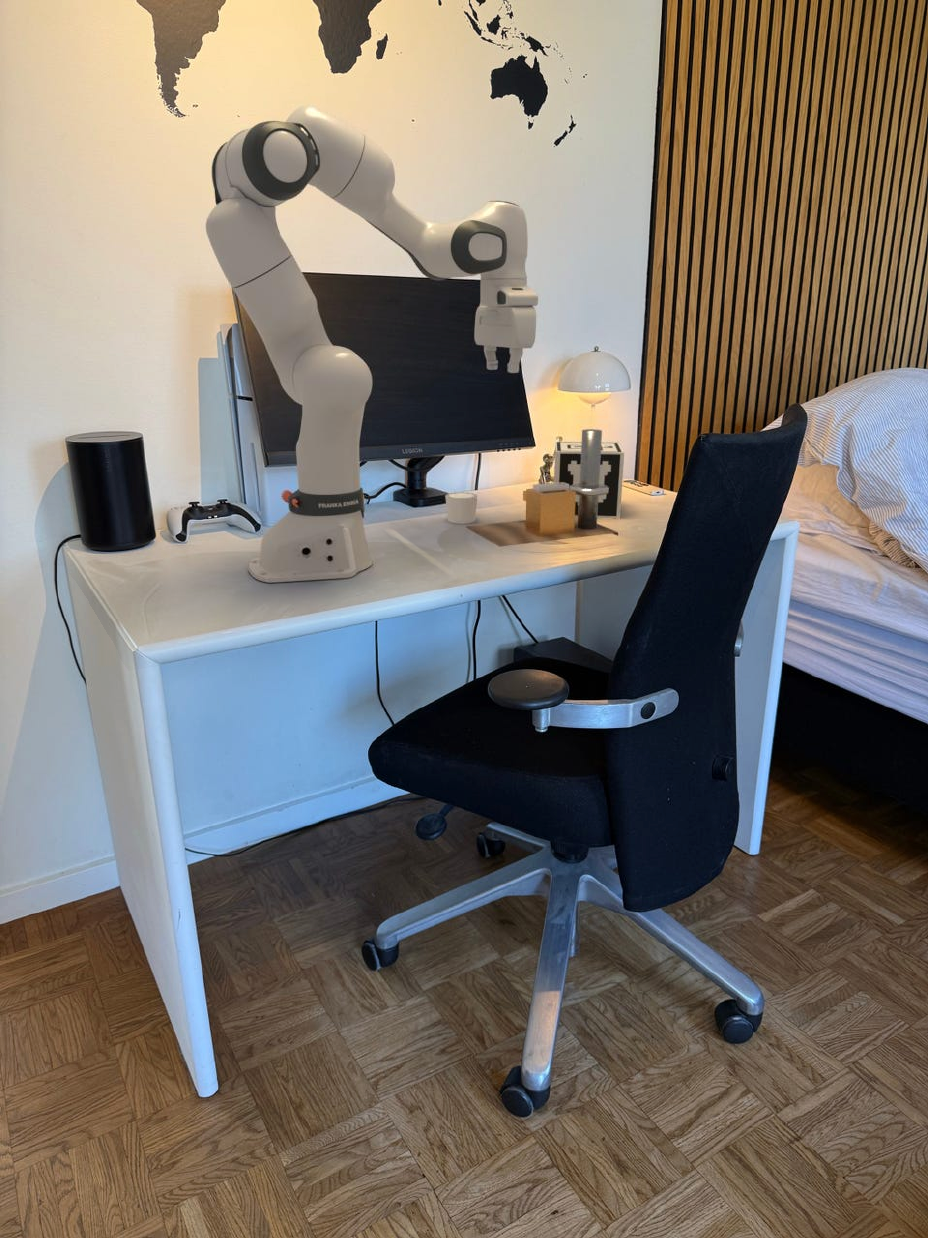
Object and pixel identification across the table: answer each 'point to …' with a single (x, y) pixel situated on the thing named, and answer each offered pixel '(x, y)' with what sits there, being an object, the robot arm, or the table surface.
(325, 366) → the robot arm
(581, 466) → the ringlock node
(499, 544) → the base board
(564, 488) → the wedge pin
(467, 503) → the white short cylinder
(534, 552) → the table surface
